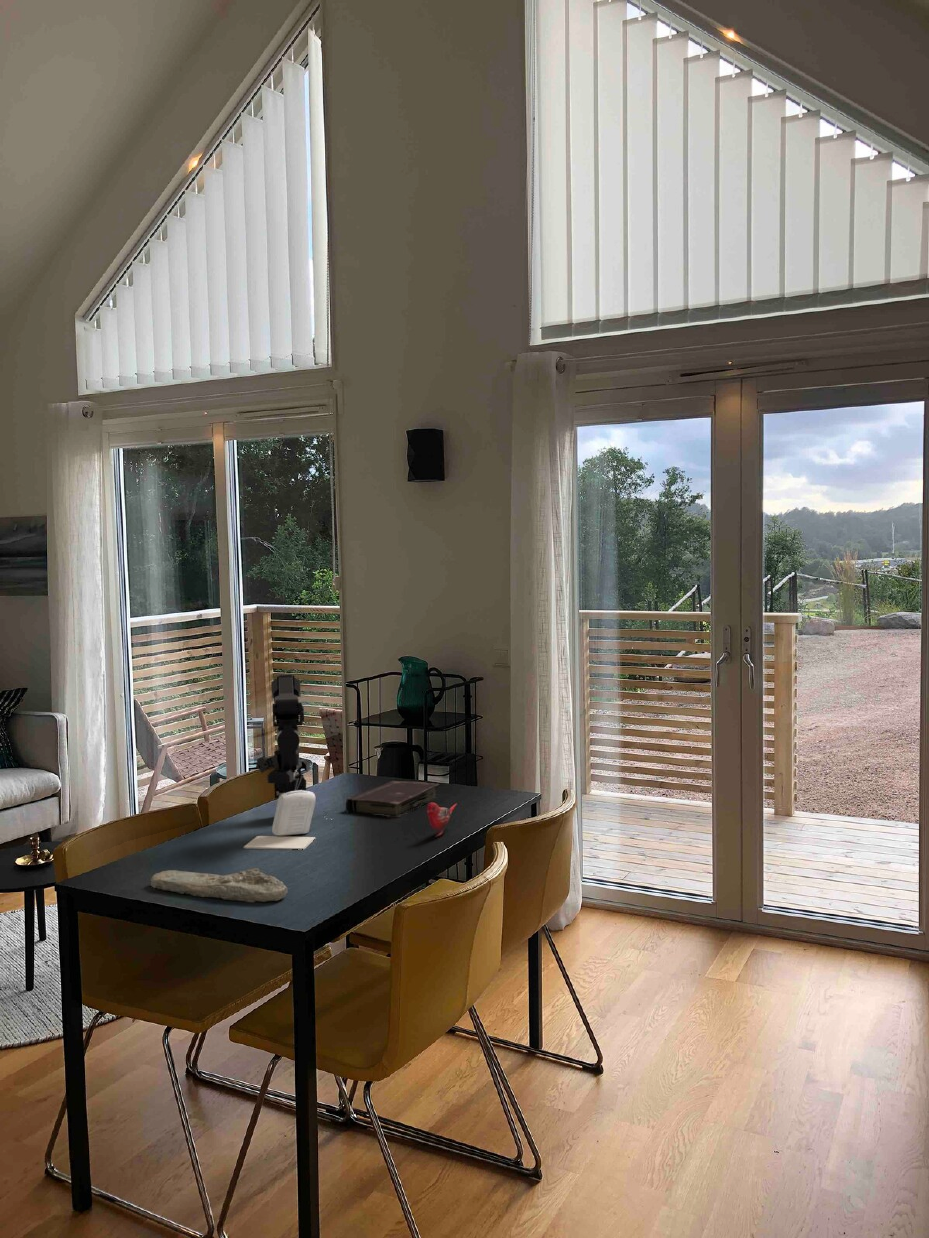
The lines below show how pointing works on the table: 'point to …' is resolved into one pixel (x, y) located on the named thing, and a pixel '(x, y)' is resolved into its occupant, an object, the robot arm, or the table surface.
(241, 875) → the elongated rock
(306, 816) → the photo printer
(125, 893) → the table surface
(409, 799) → the diary
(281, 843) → the mat
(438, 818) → the decorative bird figurine
